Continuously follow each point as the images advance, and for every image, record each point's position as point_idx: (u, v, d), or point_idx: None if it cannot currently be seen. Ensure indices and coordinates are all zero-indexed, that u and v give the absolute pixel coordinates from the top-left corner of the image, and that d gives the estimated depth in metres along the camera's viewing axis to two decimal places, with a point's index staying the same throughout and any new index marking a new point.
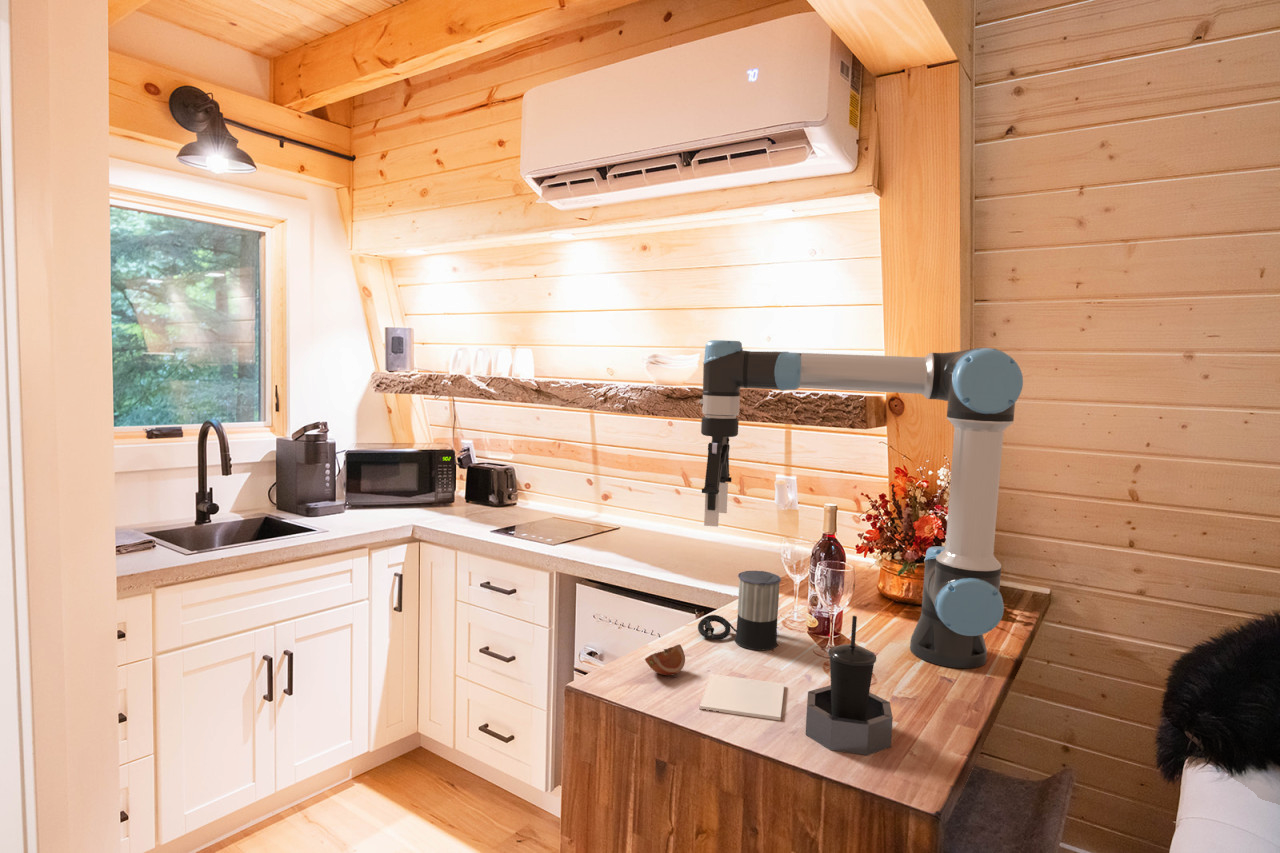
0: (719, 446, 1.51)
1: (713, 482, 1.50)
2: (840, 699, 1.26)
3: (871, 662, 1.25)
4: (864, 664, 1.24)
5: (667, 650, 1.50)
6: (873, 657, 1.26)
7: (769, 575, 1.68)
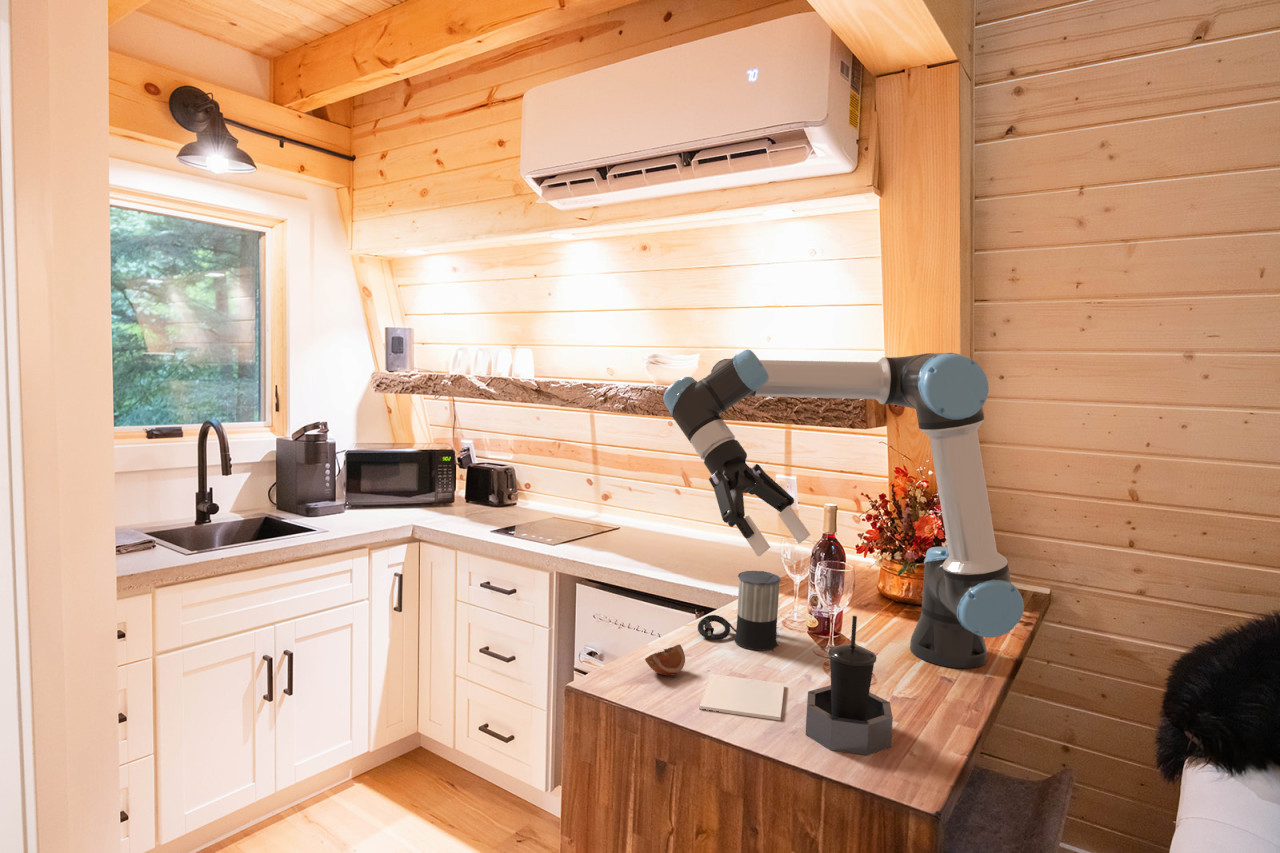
0: (716, 473, 1.36)
1: (726, 508, 1.31)
2: (840, 699, 1.26)
3: (871, 662, 1.25)
4: (864, 664, 1.24)
5: (667, 650, 1.50)
6: (873, 657, 1.26)
7: (769, 575, 1.68)
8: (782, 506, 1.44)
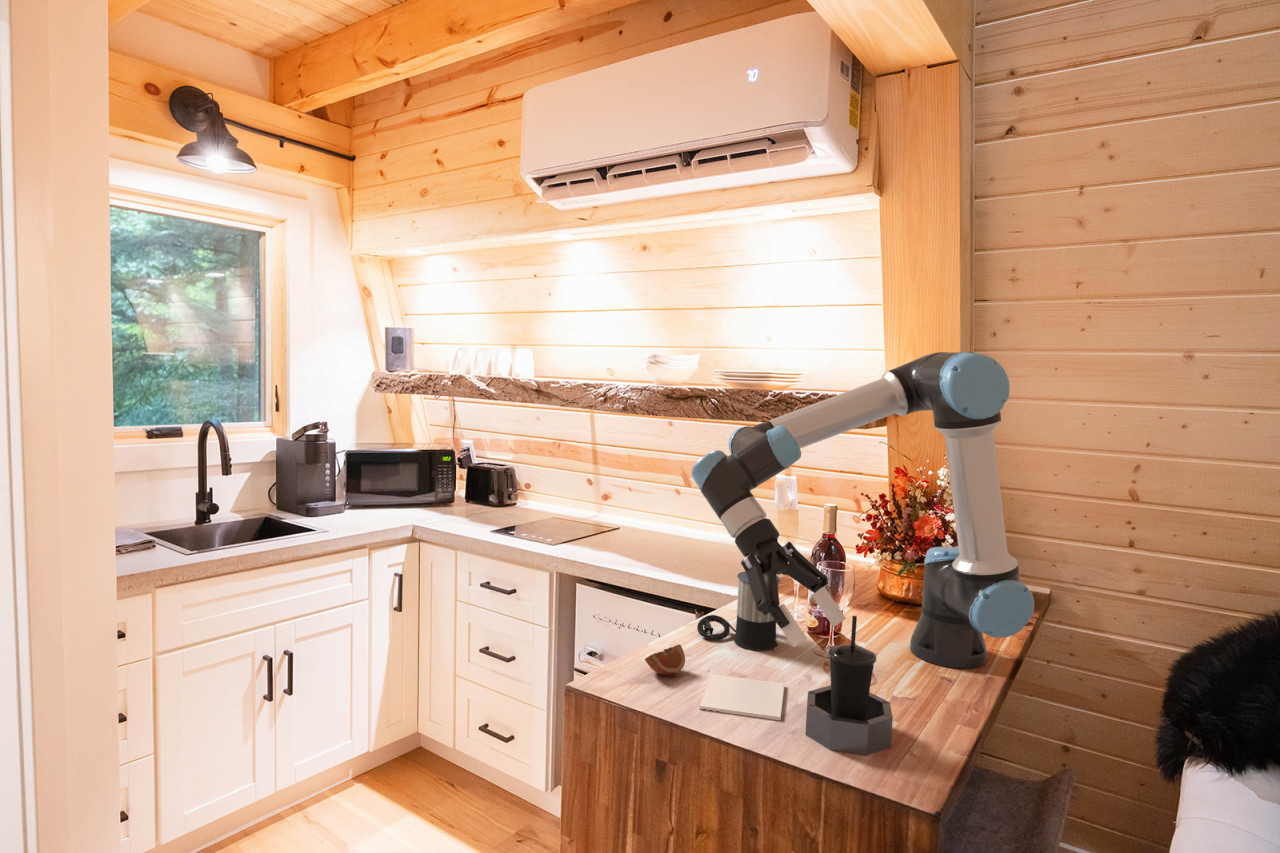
0: (749, 557, 1.31)
1: (761, 596, 1.26)
2: (840, 699, 1.26)
3: (871, 662, 1.25)
4: (864, 664, 1.24)
5: (667, 650, 1.50)
6: (873, 657, 1.26)
7: None
8: (816, 586, 1.39)
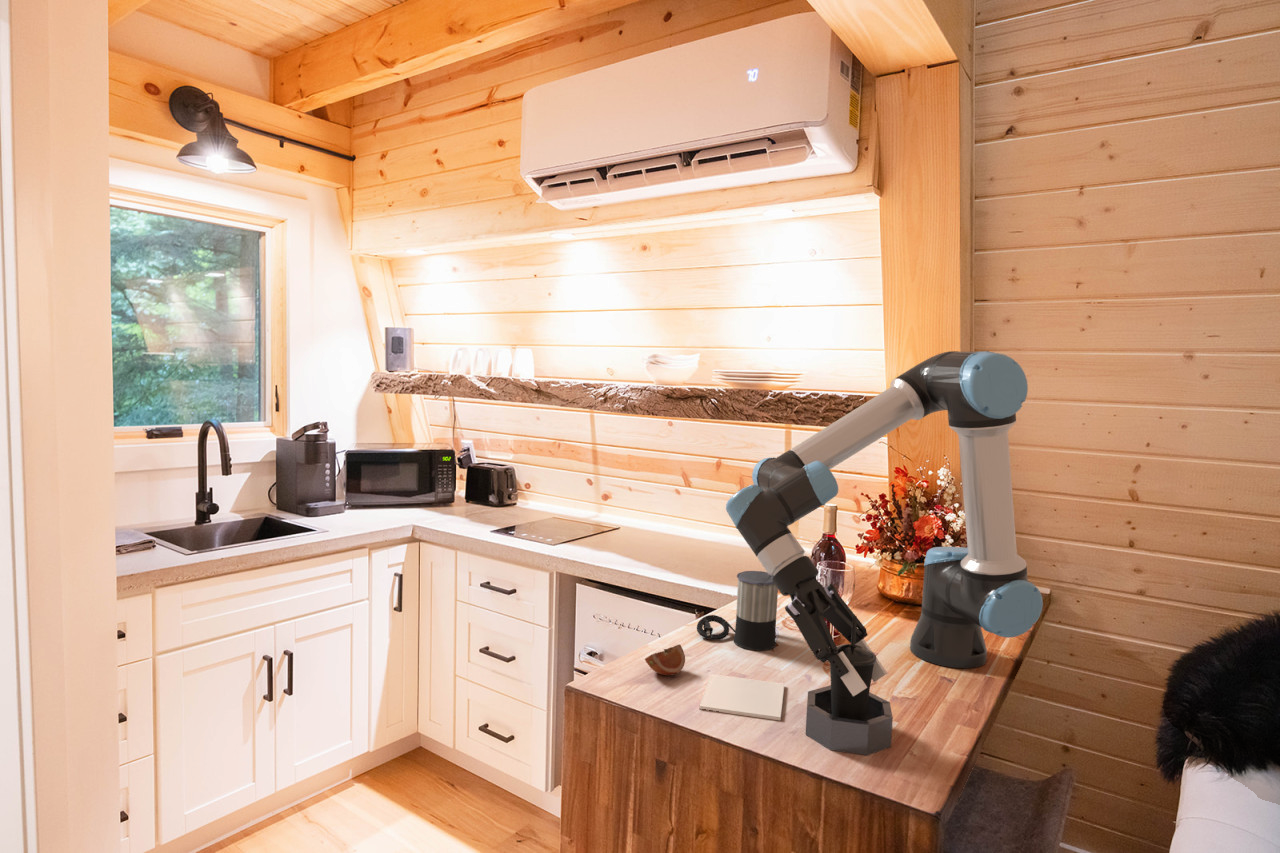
0: (795, 604, 1.26)
1: (818, 645, 1.24)
2: (840, 699, 1.26)
3: (871, 662, 1.25)
4: (864, 664, 1.24)
5: (667, 650, 1.50)
6: (873, 657, 1.26)
7: (768, 575, 1.68)
8: None
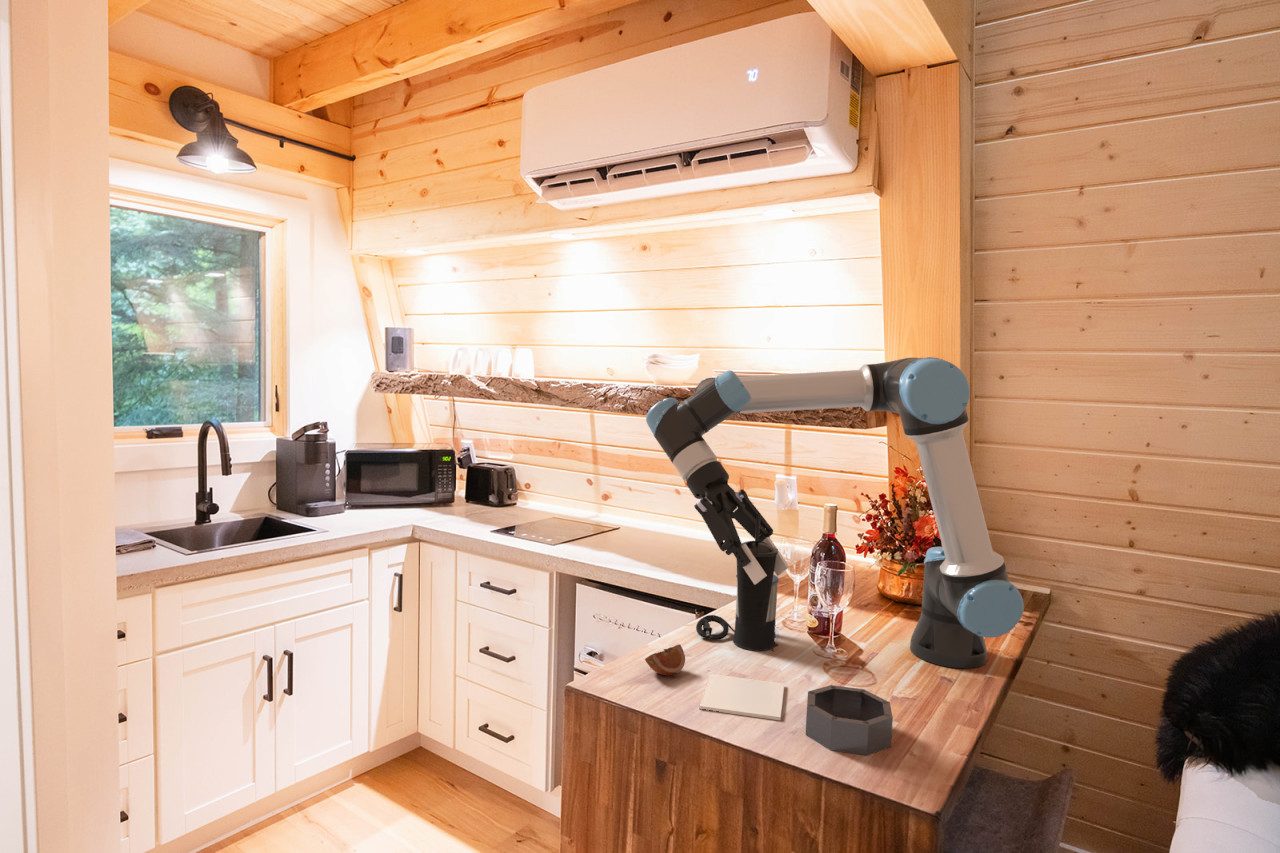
0: (703, 501, 1.36)
1: (722, 537, 1.33)
2: (744, 589, 1.36)
3: (772, 554, 1.34)
4: (765, 555, 1.33)
5: (667, 650, 1.50)
6: (775, 550, 1.36)
7: None
8: (761, 537, 1.41)
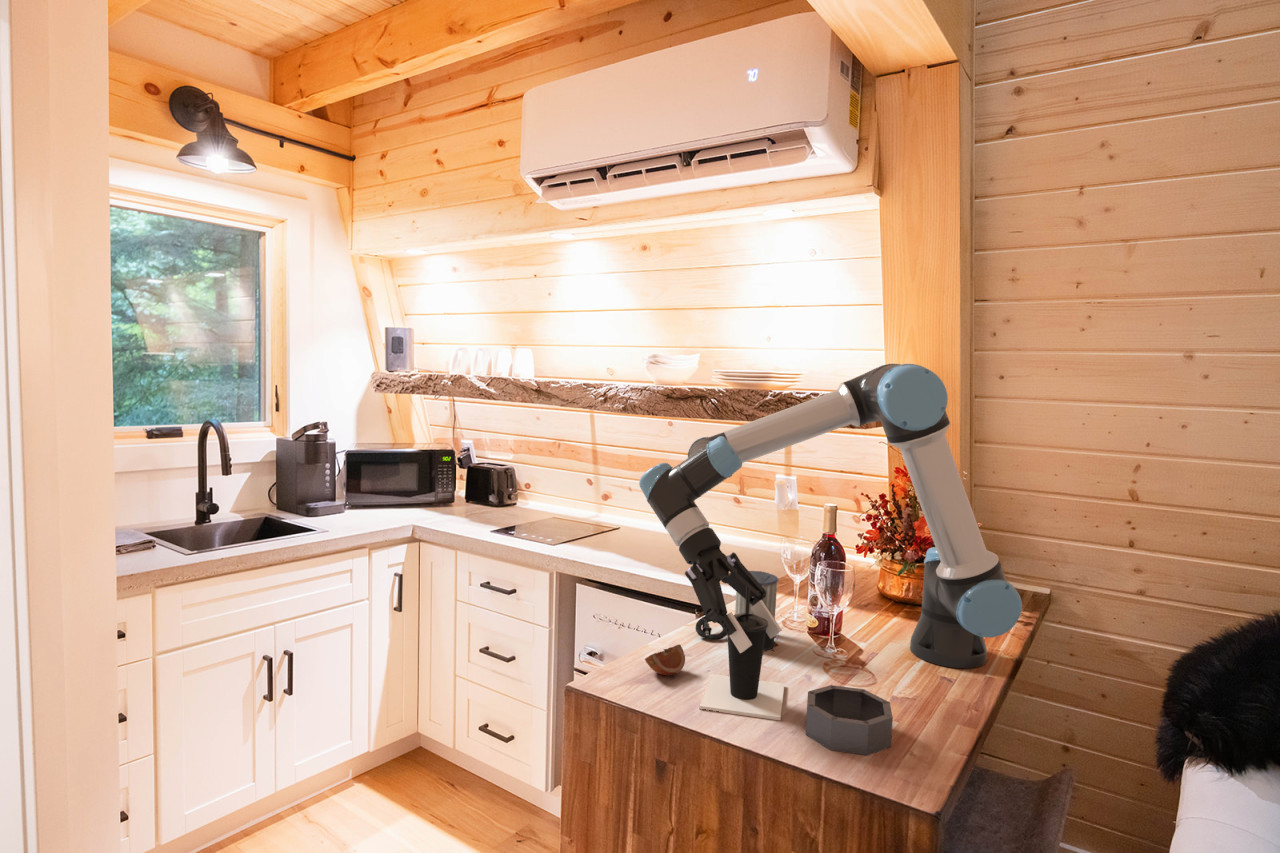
0: (692, 568, 1.38)
1: (709, 606, 1.35)
2: (735, 663, 1.38)
3: (762, 628, 1.36)
4: (755, 630, 1.36)
5: (667, 650, 1.50)
6: (765, 624, 1.38)
7: (767, 575, 1.67)
8: (754, 600, 1.44)
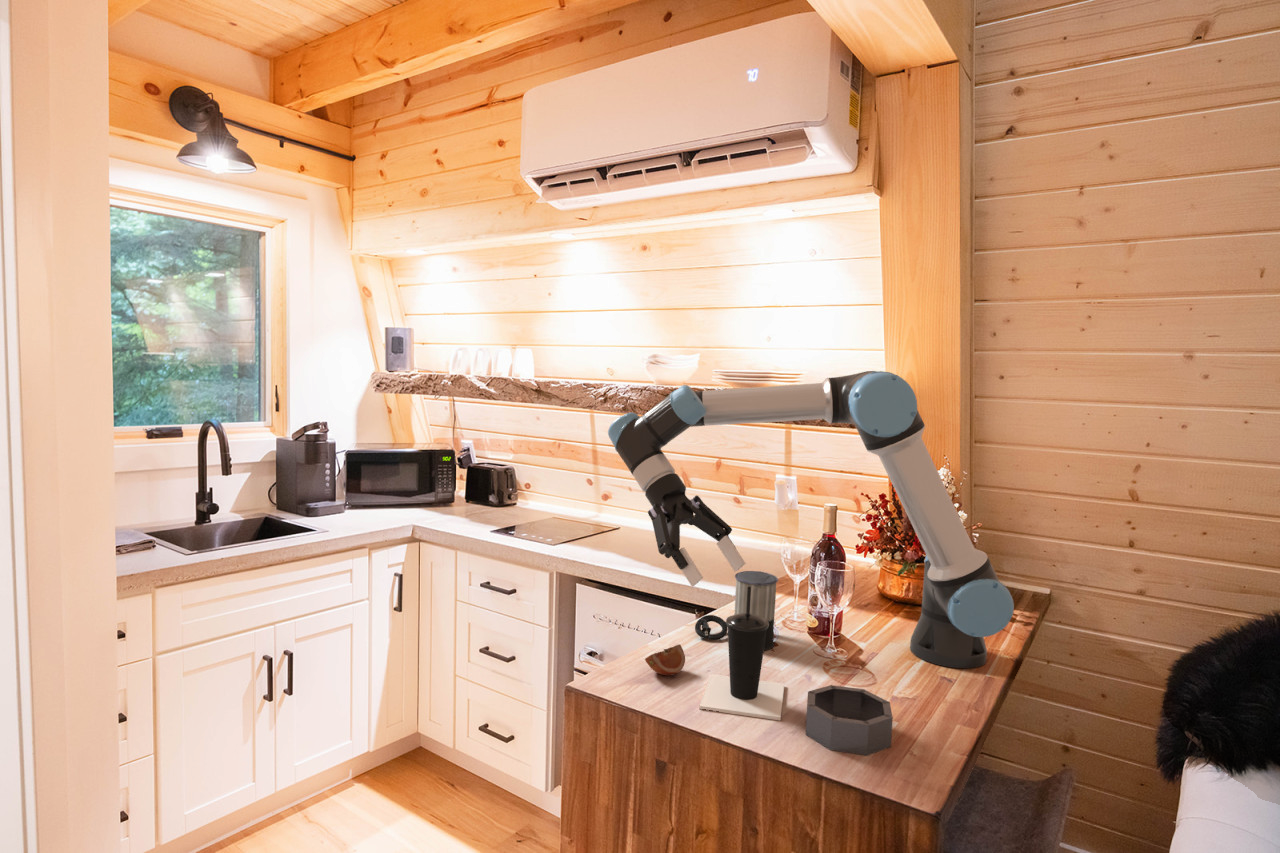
0: (654, 506, 1.44)
1: (662, 540, 1.39)
2: (735, 663, 1.38)
3: (762, 628, 1.36)
4: (755, 630, 1.36)
5: (667, 650, 1.50)
6: (765, 624, 1.38)
7: (766, 575, 1.67)
8: (720, 536, 1.51)
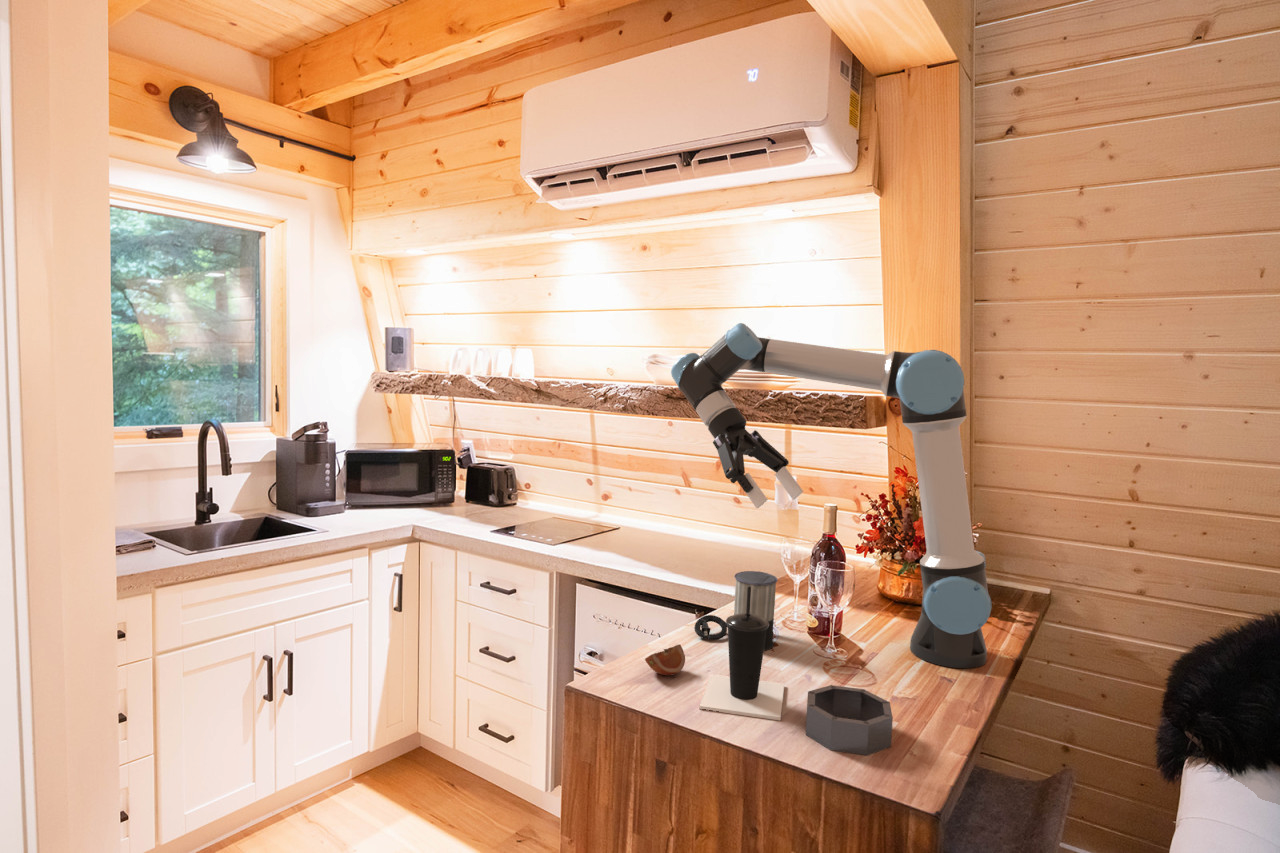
0: (719, 436, 1.53)
1: (729, 466, 1.49)
2: (735, 663, 1.38)
3: (762, 628, 1.36)
4: (756, 630, 1.36)
5: (667, 650, 1.50)
6: (765, 624, 1.38)
7: (766, 576, 1.67)
8: (778, 467, 1.61)
